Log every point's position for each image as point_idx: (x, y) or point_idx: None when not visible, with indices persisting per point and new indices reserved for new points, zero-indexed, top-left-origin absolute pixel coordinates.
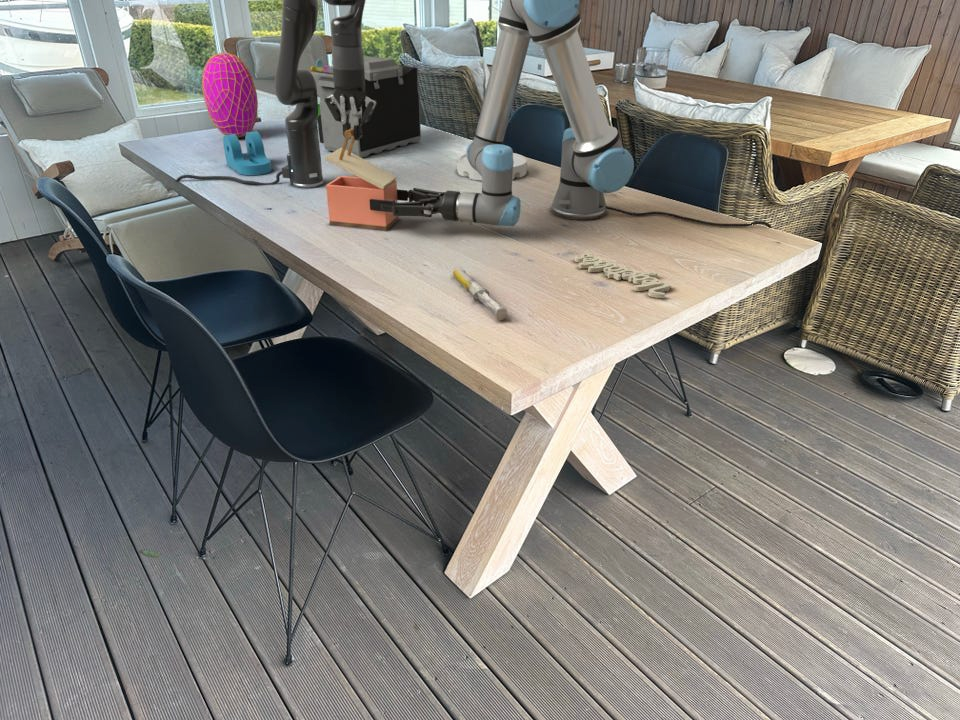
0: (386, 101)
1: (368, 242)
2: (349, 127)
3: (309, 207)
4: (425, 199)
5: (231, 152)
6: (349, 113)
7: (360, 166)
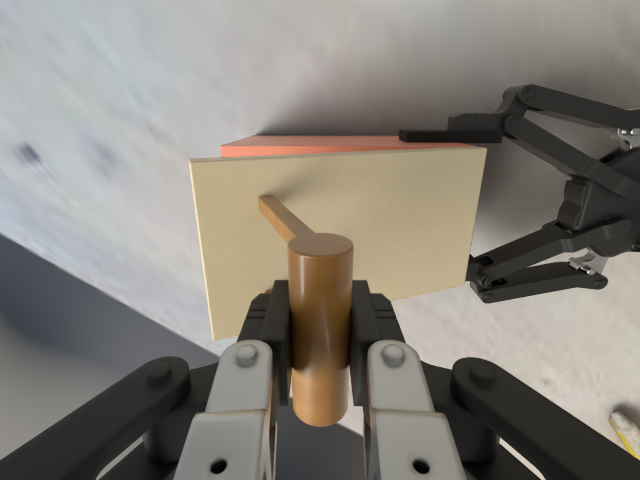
0: None
1: (399, 307)
2: (289, 342)
3: (122, 102)
4: (589, 235)
5: None
6: (267, 417)
7: (354, 249)
